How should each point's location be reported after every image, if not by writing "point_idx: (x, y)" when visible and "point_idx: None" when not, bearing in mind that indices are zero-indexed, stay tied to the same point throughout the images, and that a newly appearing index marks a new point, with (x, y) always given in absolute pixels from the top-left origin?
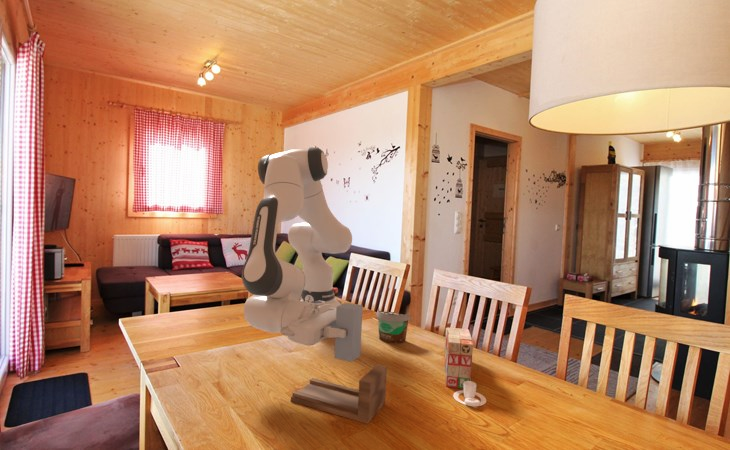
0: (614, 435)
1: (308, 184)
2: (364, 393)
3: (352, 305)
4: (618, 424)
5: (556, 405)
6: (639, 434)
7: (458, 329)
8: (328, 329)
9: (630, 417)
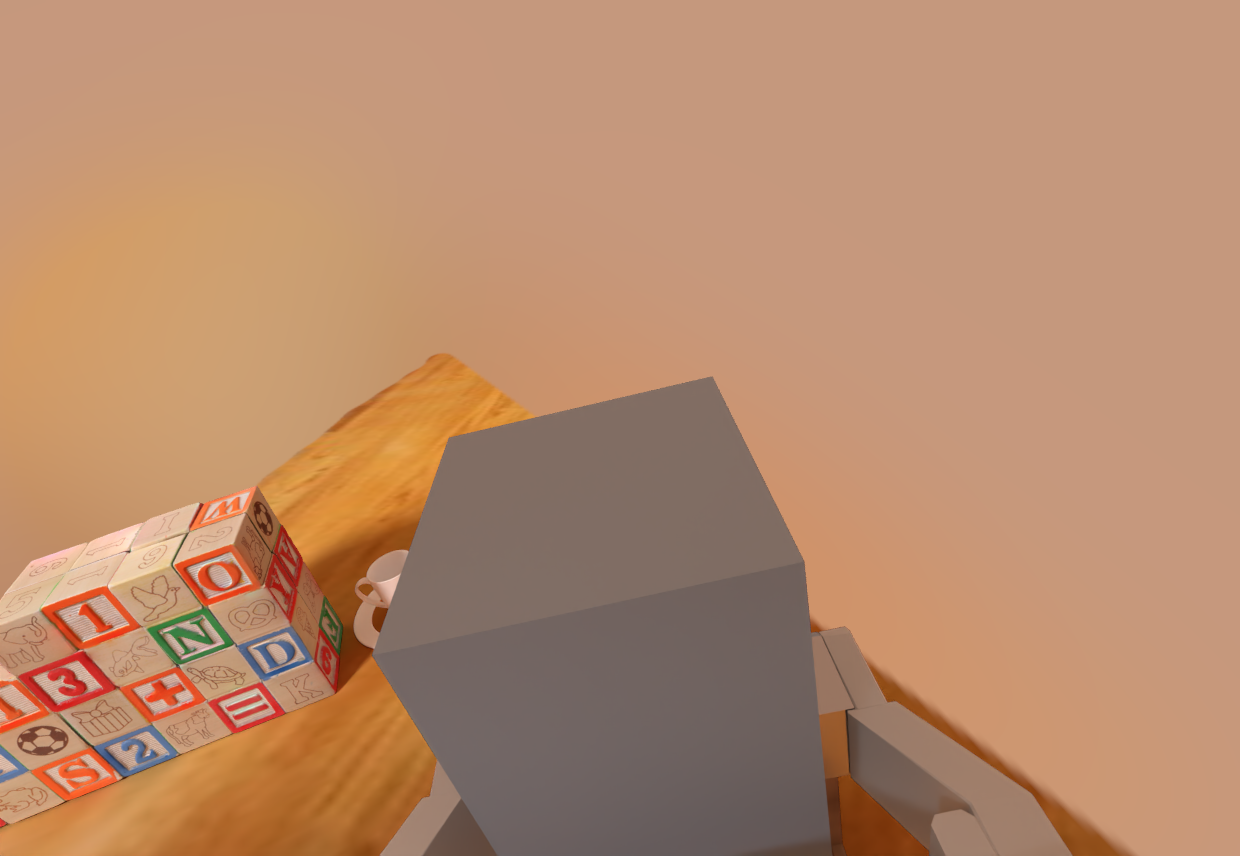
0: (481, 402)
1: None
2: None
3: (524, 484)
4: (437, 407)
5: (388, 471)
6: (461, 390)
7: (26, 586)
8: (1034, 815)
9: (402, 405)
